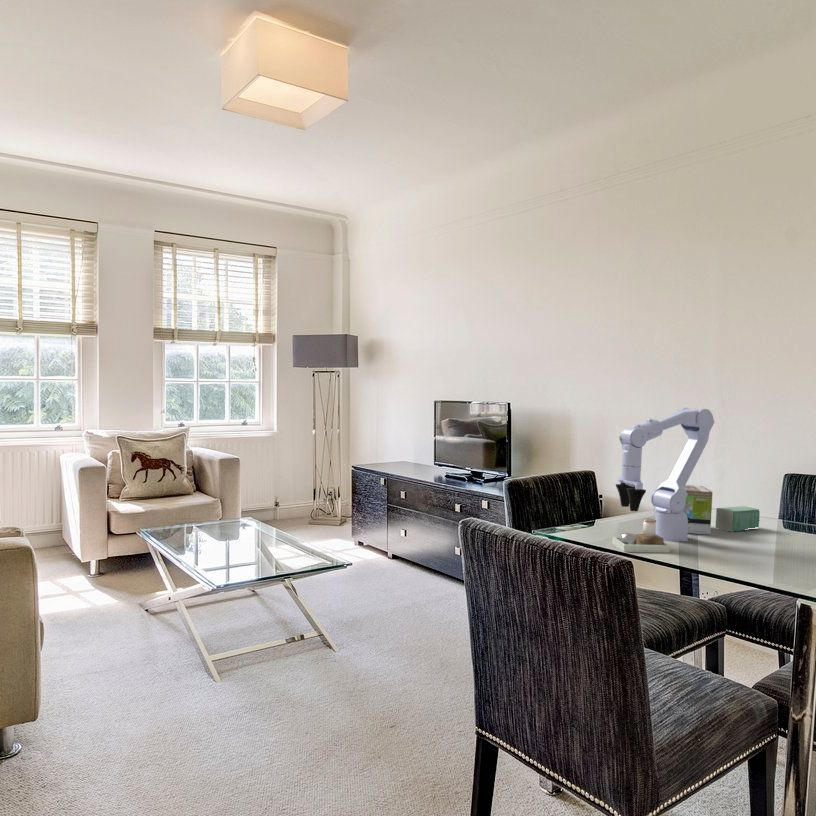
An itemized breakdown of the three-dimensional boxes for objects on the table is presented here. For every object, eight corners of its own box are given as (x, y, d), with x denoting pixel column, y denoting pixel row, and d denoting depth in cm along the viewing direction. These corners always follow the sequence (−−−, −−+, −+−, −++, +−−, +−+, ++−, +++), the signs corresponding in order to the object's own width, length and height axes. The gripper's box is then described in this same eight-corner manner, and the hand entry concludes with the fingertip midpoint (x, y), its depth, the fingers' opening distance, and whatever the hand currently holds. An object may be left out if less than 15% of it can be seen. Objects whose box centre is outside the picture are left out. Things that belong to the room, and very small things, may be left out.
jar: (640, 534, 207) (641, 518, 207) (653, 534, 207) (653, 518, 207) (644, 537, 203) (645, 520, 203) (657, 537, 203) (658, 521, 203)
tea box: (711, 535, 227) (713, 491, 226) (679, 533, 229) (681, 489, 228) (701, 525, 242) (703, 484, 241) (671, 524, 244) (673, 483, 243)
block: (655, 545, 208) (655, 534, 208) (663, 550, 202) (663, 538, 202) (635, 545, 208) (636, 533, 208) (643, 550, 202) (643, 538, 202)
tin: (633, 545, 207) (633, 533, 207) (638, 549, 203) (638, 536, 203) (618, 545, 207) (619, 532, 207) (623, 549, 203) (624, 536, 203)
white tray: (655, 545, 211) (656, 537, 211) (669, 553, 200) (669, 545, 200) (612, 544, 210) (612, 537, 210) (623, 552, 200) (624, 545, 200)
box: (759, 529, 238) (760, 508, 237) (733, 532, 232) (733, 511, 231) (741, 525, 244) (742, 505, 244) (715, 528, 238) (715, 507, 238)
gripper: (611, 462, 221) (609, 504, 221) (627, 468, 206) (625, 512, 207) (632, 463, 221) (630, 504, 222) (650, 469, 207) (648, 513, 207)
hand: (629, 508), depth 214 cm, fingers open, 7 cm apart
